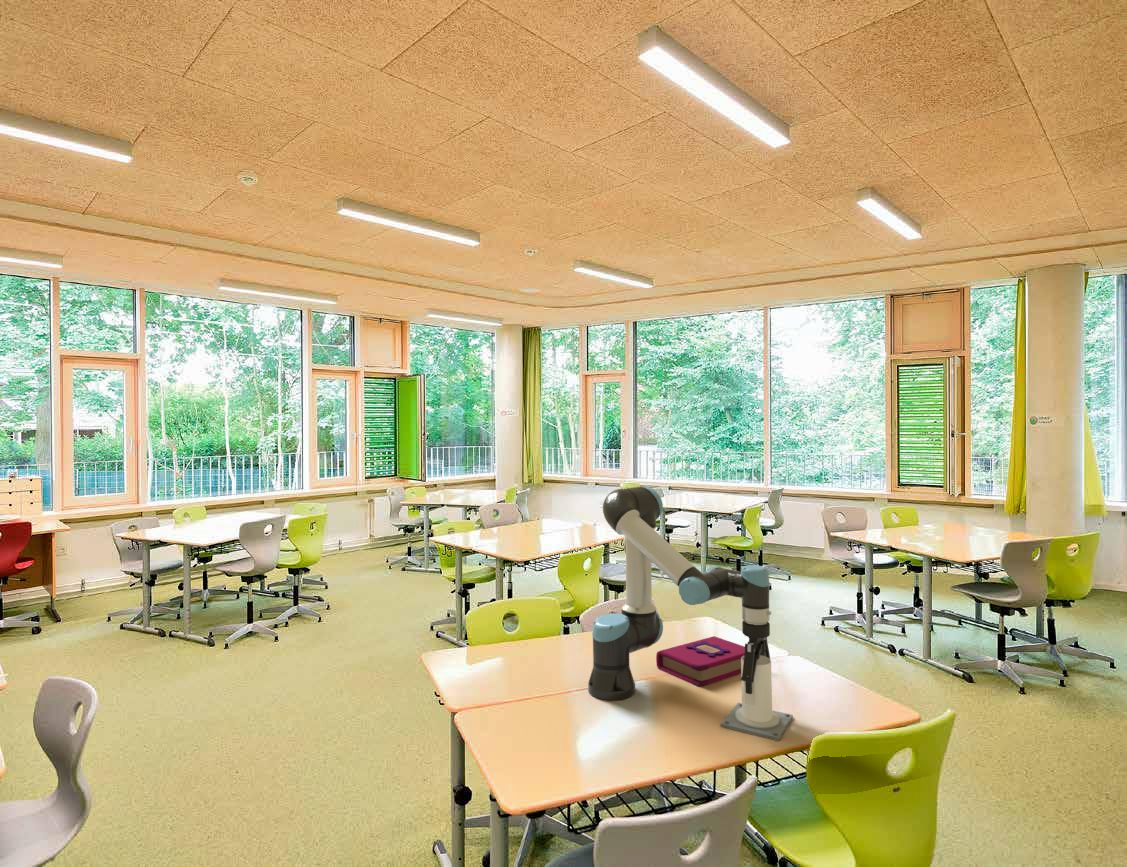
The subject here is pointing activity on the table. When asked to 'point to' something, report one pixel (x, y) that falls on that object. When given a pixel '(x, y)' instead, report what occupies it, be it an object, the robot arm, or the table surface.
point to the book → (702, 661)
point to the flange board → (758, 723)
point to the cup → (759, 692)
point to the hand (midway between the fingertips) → (756, 695)
